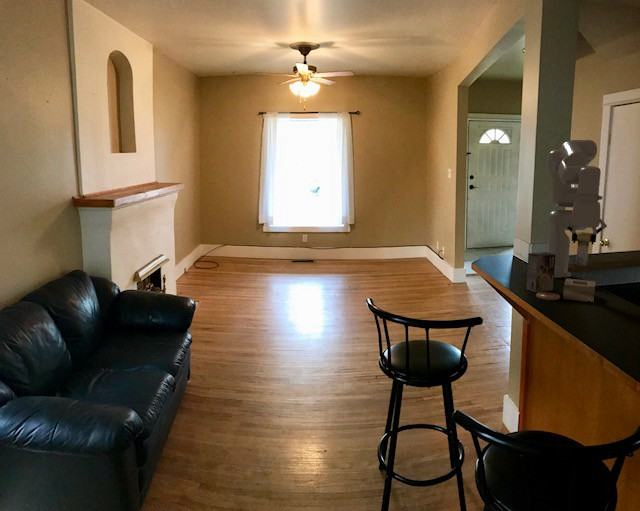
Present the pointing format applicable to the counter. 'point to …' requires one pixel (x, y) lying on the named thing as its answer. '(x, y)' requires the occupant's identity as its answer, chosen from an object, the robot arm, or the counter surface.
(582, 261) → the pin
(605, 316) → the counter surface
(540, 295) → the coaster
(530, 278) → the coffee box
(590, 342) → the counter surface
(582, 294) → the eye block
